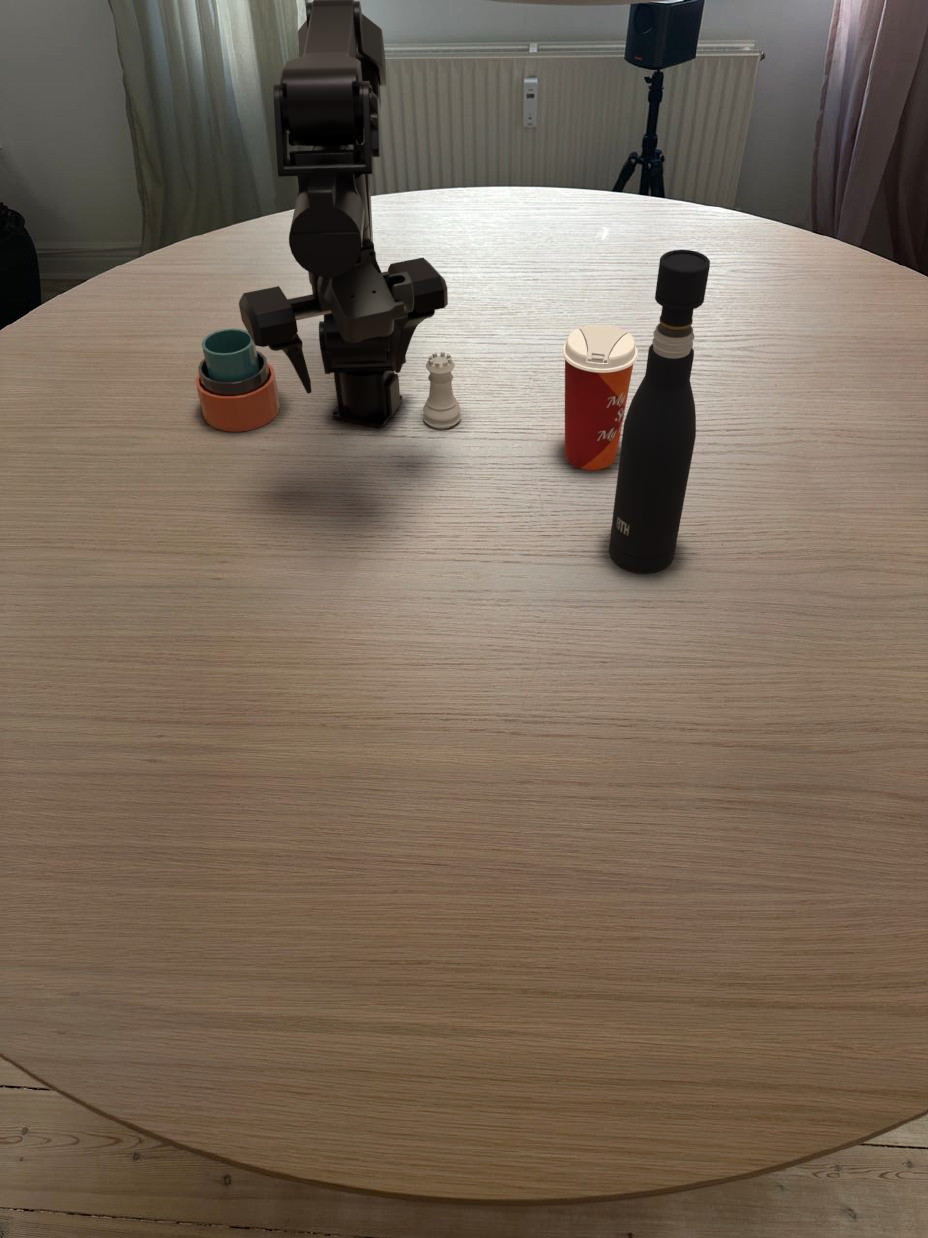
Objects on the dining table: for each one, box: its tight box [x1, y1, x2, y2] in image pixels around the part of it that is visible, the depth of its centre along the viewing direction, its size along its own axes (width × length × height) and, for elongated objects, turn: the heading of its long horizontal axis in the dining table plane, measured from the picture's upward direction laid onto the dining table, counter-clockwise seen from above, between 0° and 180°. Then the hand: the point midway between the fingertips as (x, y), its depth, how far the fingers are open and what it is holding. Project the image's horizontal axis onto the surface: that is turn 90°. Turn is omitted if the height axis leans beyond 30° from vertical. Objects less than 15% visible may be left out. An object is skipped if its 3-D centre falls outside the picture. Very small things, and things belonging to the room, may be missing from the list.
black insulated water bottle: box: [608, 249, 711, 574], centre depth 86 cm, size 6×6×30 cm
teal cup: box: [201, 328, 260, 382], centre depth 112 cm, size 6×6×8 cm
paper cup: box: [561, 324, 639, 471], centre depth 104 cm, size 8×8×14 cm
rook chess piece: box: [422, 351, 462, 430], centre depth 111 cm, size 4×4×8 cm
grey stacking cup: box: [197, 350, 270, 396], centre depth 114 cm, size 8×8×6 cm
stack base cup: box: [195, 361, 281, 433], centre depth 114 cm, size 9×9×4 cm
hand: (353, 380), depth 97 cm, fingers open, 9 cm apart
